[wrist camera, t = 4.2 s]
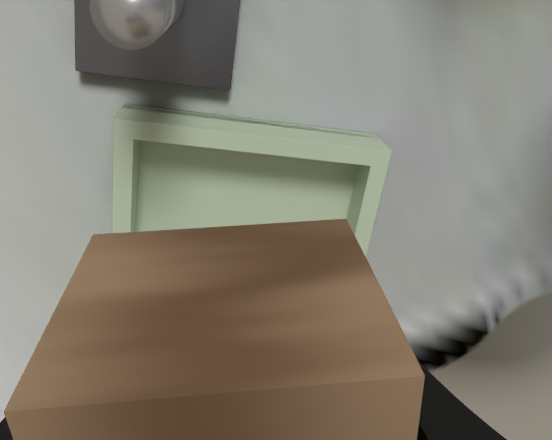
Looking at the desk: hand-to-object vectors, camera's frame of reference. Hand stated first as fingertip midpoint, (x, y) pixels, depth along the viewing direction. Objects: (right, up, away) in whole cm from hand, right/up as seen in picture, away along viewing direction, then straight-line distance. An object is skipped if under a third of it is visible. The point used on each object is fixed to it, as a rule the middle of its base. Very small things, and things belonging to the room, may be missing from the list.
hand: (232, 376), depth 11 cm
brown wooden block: (0, +1, +1) cm, 1 cm away
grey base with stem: (-3, +10, +5) cm, 12 cm away
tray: (0, +3, +9) cm, 9 cm away
